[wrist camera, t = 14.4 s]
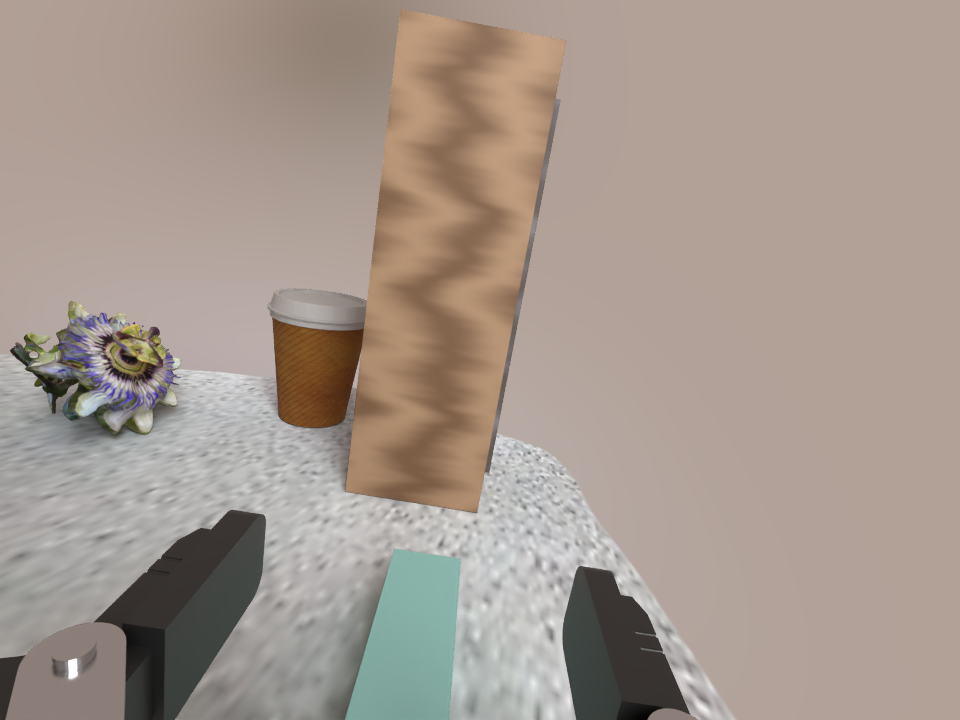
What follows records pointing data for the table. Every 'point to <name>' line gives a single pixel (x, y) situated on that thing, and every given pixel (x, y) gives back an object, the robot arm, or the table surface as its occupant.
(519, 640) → the table surface
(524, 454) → the table surface
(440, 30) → the tall wooden pillar block
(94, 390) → the passion flower
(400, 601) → the rail
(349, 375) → the disposable coffee cup
